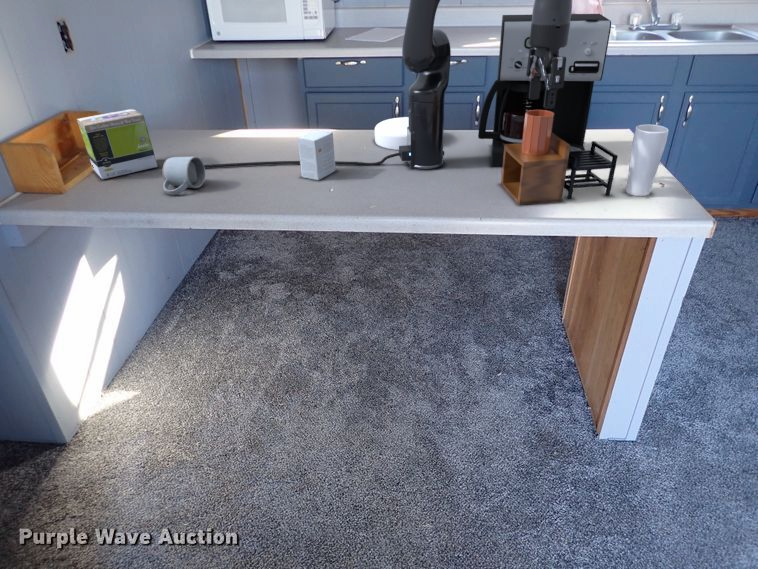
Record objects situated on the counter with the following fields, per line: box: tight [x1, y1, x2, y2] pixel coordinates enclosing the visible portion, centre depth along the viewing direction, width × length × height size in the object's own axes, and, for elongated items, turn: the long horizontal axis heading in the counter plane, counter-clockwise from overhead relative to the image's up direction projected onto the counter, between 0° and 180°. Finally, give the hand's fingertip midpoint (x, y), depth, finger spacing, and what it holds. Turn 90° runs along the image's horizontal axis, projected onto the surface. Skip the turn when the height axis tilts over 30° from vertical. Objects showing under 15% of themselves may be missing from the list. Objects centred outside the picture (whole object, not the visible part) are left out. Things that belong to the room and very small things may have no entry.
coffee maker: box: [477, 13, 612, 170], centre depth 142 cm, size 28×20×35 cm
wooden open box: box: [500, 133, 570, 206], centre depth 125 cm, size 10×13×13 cm
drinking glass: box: [625, 123, 670, 197], centre depth 123 cm, size 7×7×15 cm
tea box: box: [76, 108, 158, 180], centre depth 147 cm, size 15×10×15 cm, turn 126°
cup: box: [522, 110, 554, 155], centre depth 121 cm, size 6×6×8 cm
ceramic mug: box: [161, 156, 206, 196], centre depth 136 cm, size 11×8×8 cm
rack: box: [564, 140, 619, 200], centre depth 127 cm, size 10×11×10 cm
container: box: [374, 116, 409, 151], centre depth 166 cm, size 20×20×5 cm
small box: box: [297, 129, 337, 181], centre depth 141 cm, size 8×6×10 cm
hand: (541, 103), depth 118 cm, fingers open, 8 cm apart
